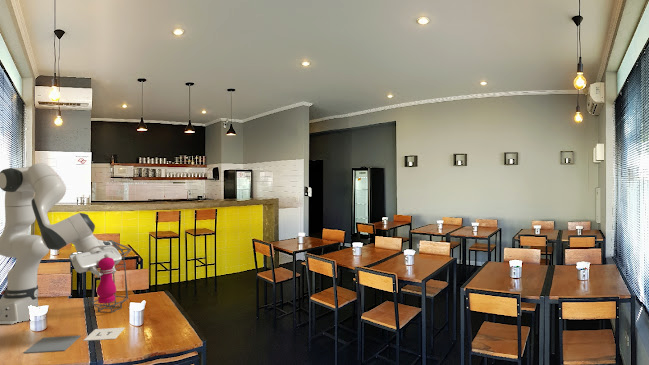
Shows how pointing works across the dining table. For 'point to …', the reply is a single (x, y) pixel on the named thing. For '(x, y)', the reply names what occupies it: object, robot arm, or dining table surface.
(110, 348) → the dining table surface
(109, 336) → the white flat square plate
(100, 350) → the dining table surface
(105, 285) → the pepper mill
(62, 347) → the slate mat
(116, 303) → the geometric lantern
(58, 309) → the dining table surface
